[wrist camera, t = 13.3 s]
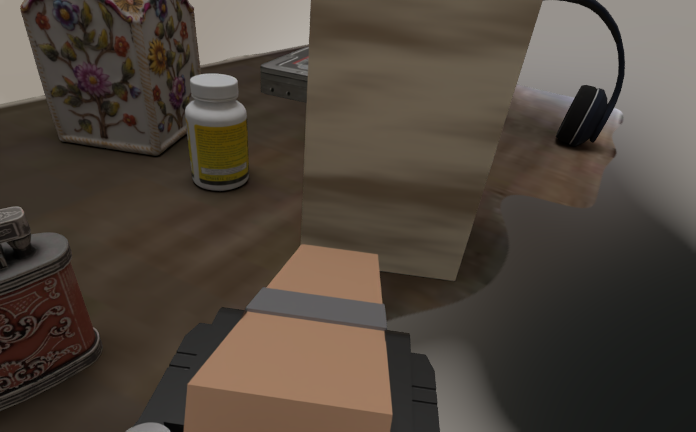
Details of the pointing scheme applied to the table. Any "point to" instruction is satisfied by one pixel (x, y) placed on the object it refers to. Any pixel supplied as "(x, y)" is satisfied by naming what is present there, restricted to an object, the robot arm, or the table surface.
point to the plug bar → (302, 354)
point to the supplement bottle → (217, 133)
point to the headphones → (592, 93)
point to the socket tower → (406, 123)
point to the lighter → (39, 312)
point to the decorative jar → (115, 69)
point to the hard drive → (287, 76)
